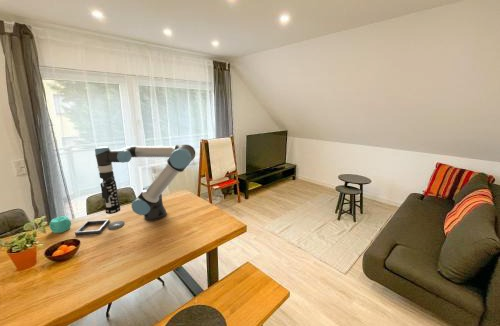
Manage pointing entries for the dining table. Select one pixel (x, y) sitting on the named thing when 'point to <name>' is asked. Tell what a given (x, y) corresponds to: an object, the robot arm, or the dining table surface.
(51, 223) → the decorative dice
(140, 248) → the dining table surface
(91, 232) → the grey square frame
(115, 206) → the spotted tube
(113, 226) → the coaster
